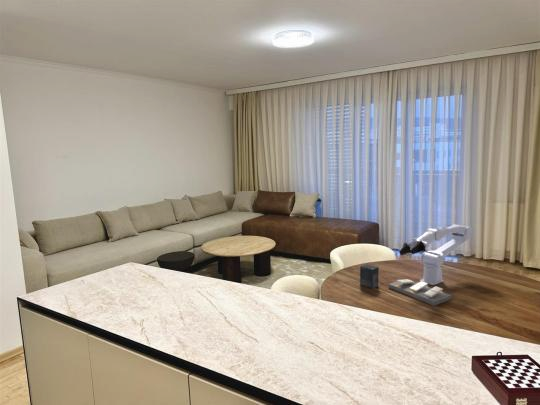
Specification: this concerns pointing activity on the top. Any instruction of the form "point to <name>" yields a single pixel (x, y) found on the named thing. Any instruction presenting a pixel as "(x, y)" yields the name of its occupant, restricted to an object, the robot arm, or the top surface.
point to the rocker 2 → (418, 286)
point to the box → (369, 275)
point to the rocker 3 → (433, 291)
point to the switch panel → (420, 293)
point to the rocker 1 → (405, 281)
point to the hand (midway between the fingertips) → (405, 252)
